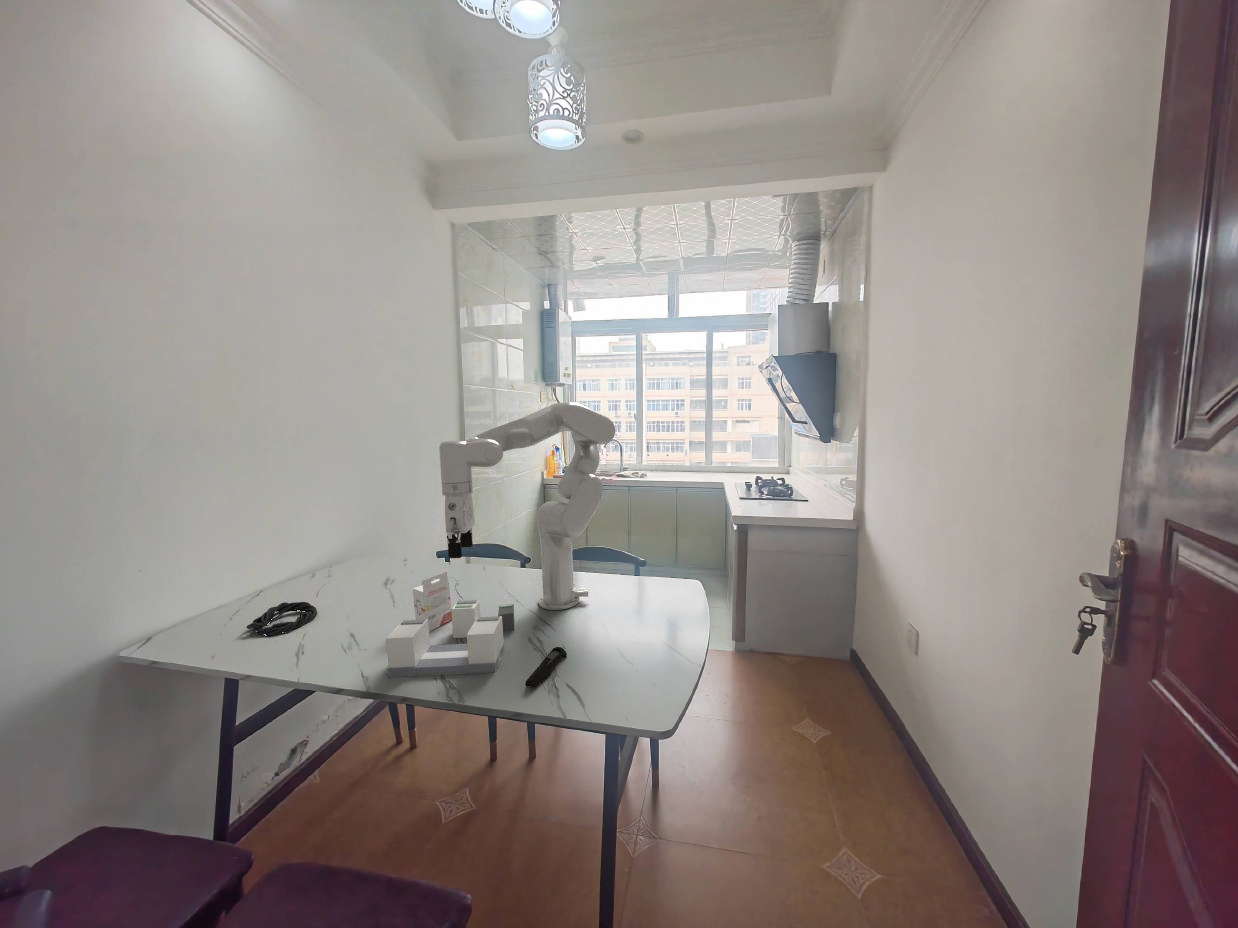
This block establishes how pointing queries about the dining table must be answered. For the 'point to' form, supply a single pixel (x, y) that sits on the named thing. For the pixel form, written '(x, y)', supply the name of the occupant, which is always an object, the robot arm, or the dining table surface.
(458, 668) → the rail board
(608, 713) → the dining table surface
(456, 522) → the robot arm
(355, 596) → the dining table surface
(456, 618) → the block
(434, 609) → the ink cartridge box
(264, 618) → the cable
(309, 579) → the dining table surface
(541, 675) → the electric trimmer
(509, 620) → the loose device
